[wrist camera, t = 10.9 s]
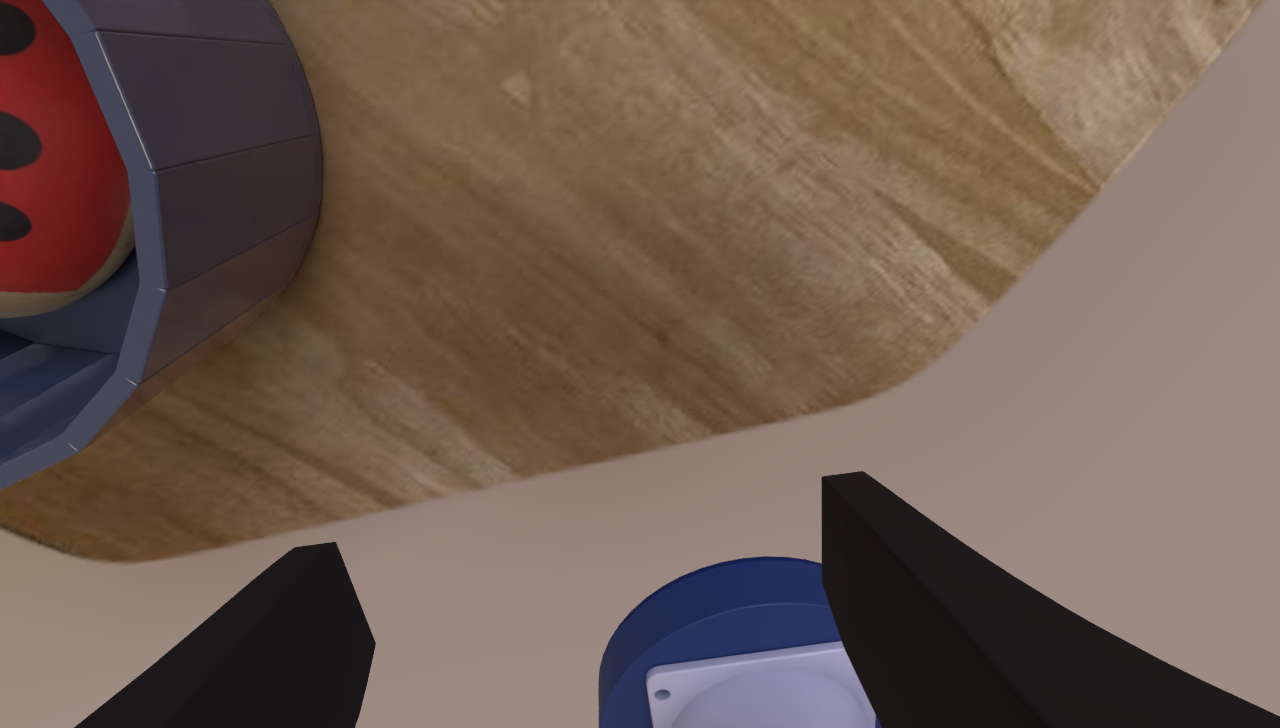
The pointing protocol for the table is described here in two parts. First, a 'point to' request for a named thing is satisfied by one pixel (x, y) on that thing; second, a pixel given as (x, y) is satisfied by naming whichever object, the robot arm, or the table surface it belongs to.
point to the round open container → (170, 215)
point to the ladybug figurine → (54, 171)
